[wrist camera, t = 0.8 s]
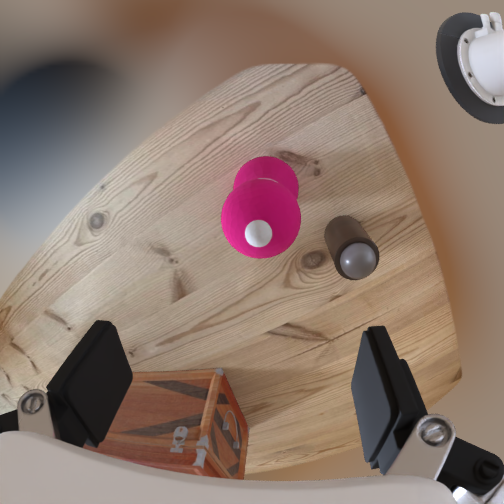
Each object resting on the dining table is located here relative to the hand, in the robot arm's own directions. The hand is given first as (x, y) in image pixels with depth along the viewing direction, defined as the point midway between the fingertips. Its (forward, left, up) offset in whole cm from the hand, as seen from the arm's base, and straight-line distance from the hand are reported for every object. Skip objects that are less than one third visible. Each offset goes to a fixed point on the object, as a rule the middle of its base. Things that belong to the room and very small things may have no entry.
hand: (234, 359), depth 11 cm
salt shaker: (+6, +10, -30) cm, 32 cm away
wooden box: (+44, -26, -30) cm, 59 cm away
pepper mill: (-1, 0, -30) cm, 30 cm away
